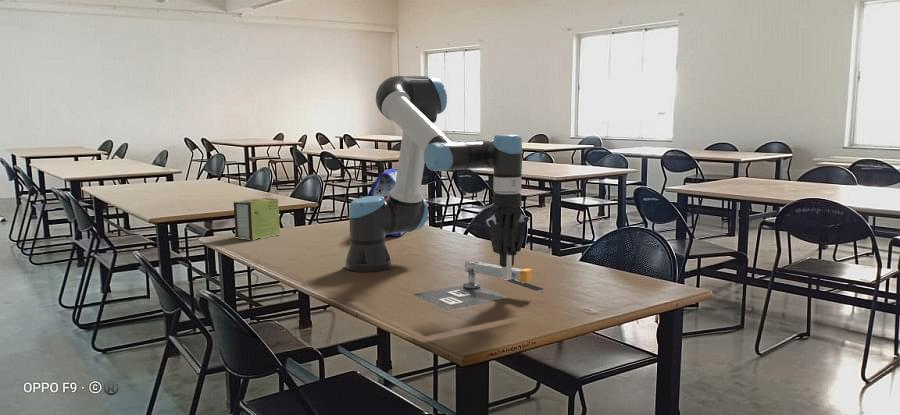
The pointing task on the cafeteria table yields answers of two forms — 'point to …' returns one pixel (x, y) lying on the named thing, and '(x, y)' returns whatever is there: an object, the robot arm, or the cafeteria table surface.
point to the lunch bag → (385, 187)
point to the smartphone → (525, 285)
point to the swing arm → (498, 271)
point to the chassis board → (470, 287)
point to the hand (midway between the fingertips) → (506, 277)
